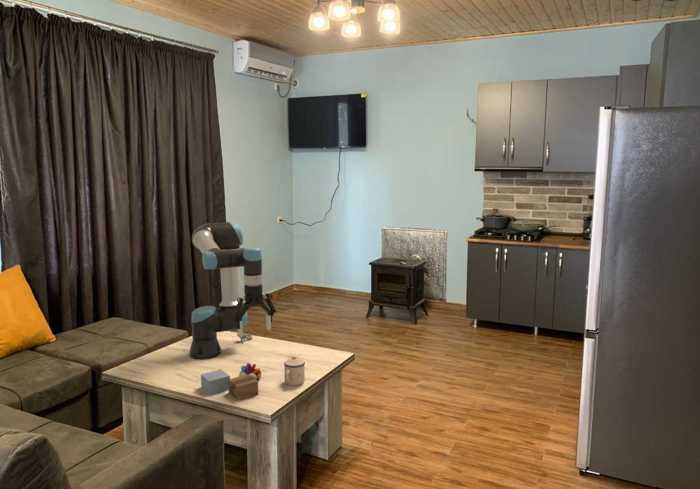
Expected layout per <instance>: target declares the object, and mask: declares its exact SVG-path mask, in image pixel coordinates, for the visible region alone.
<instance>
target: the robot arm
mask: <svg viewBox="0 0 700 489" xmlns="http://www.w3.org/2000/svg"><path fill="white" fill-rule="evenodd" d="M191 235H192V236H191V243H192V245H193V246H194V247H195V248H196V249H198V250H199V251H200V252H201V254H202V255H201V256H202V258H201V259H202V260H201V261H202V265H203V269H204V270H217V269H219V270H220V272H219V273H220V284H221V286H220V287H221V302H220V303H219V304H218V305H219V307H218V308H217V307H216V306H214V305H205V306H200V307H198V308H195V309H194V310H193V311H192V312H191V320H190V321H191V331H192V332H191V334H192V340H191V344H190V348H189V351H188V352H189V353H188V354H189V357H190V358H191V359H195V360H208V359H209V360H210V359H214V358H216V357H219V356H220V355H222V347H221V345H220V342H219V340H218V335H217V334H218V333H223V332H231V331H237V334H238V336H237V337H239V336H240V337H243V335H242V332H243V329H244V328H245V327H246V325H247V322H248V310H249V309H250V308H253V307H257V306H260V307H261V308H262V309H263V311H265V313H266V314H265V328H266V330H267V331H271V330H272V322H273V316H274V314H276V313H277V310H276V308H275V306H274V304H273V302H272V300H271V298H270V293H268V292H264V293H263V264H262V263H263V260H262V258H263V254H262V249H261V248H260V247H259V246H258V247H257V246H248V247H240V246H242V245H243V244H244V236H243V231H242V227H241V226H240V224H239V223H238V222H236V221H235V222H234V221H233V222H232V221H227V222H226V221H225V222H213V223H212V222H207V223H204V224H202V225H200V226H198V227H197V228H196V229H194V231H193V233H192V234H191ZM242 267H243V284H244V285H243V289H244V290H243V291H244V296H243V297H240V284H239V283H240V281H239V268H242ZM263 299H264V300H265V302H266V304H265V303H264V301H262V300H263ZM243 303H244V304H243ZM267 306H268V307H267ZM240 337H239V338H240Z"/></svg>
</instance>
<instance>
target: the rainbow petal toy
mask: <svg viewBox="0 0 700 489" xmlns="http://www.w3.org/2000/svg"><path fill="white" fill-rule="evenodd" d="M240 370H241V371H240V372H239V374H238V377H240V376H244V375H248V374H249V375H250V376H251V377H253V378H254V379H255V380H258V379H260V378H261V376H262V371H261V368H259V367H258V368H257V367H256V363H253V364H251V363H250V362H247V363H246V365H241V367H240Z"/></svg>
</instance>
